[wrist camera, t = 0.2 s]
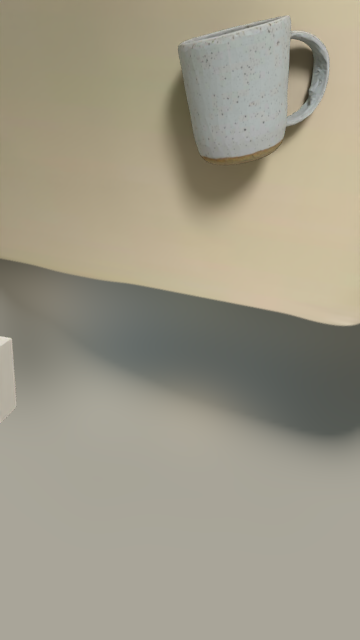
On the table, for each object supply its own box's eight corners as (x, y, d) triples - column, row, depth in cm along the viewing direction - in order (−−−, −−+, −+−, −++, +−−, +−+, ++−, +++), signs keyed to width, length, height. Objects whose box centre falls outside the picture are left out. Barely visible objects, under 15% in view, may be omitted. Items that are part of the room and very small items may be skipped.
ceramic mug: (202, 150, 32) (193, 177, 26) (184, 40, 27) (168, 42, 21) (322, 126, 29) (343, 149, 23) (328, -1, 24) (355, -11, 18)
